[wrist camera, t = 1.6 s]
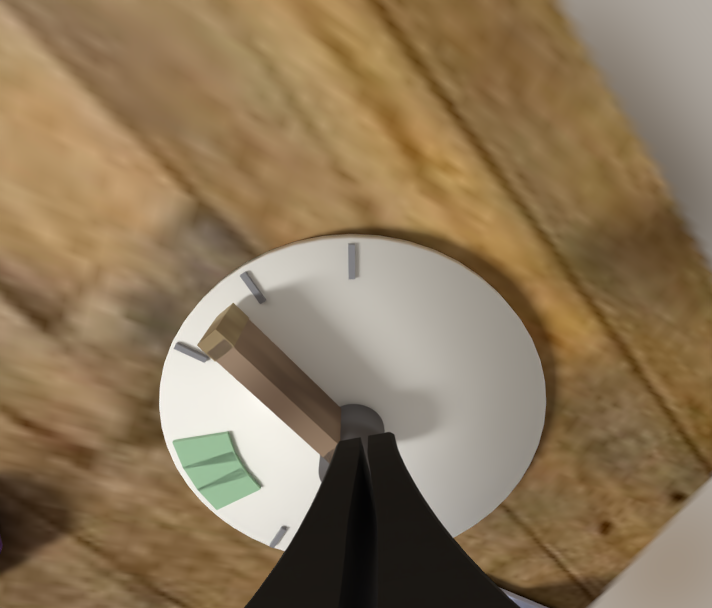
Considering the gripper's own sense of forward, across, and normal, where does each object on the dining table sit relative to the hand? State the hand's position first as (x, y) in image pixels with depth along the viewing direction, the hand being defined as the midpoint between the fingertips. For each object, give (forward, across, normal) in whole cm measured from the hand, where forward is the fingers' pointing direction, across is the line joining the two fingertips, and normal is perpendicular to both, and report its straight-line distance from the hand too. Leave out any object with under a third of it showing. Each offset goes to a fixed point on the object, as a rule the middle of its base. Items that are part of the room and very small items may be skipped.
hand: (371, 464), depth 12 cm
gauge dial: (+10, +2, +6) cm, 12 cm away
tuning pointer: (+9, +4, +2) cm, 10 cm away
